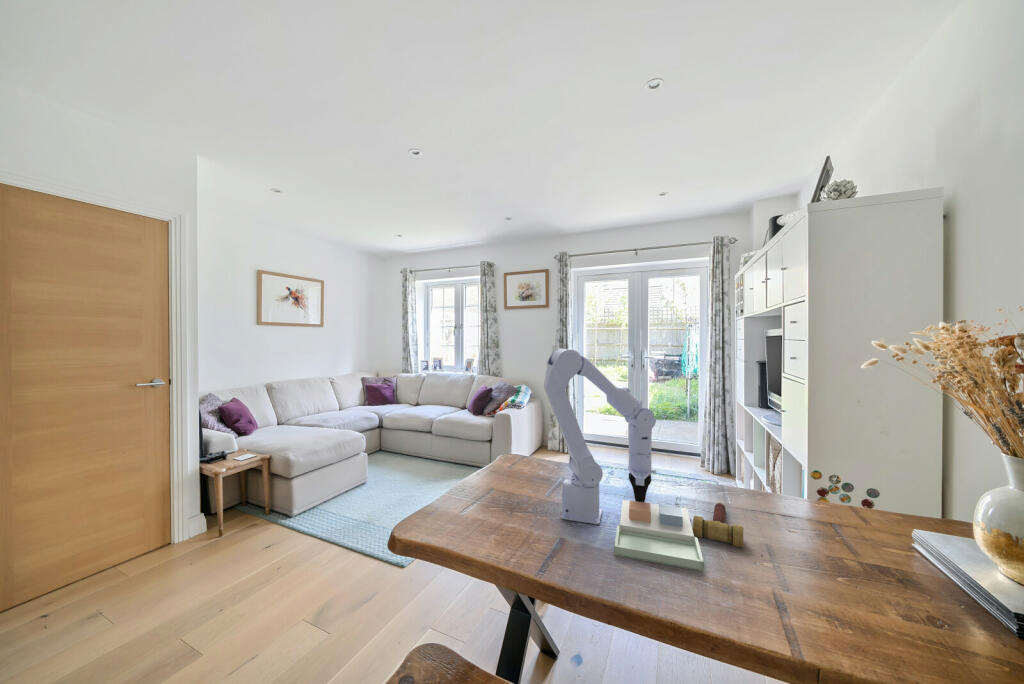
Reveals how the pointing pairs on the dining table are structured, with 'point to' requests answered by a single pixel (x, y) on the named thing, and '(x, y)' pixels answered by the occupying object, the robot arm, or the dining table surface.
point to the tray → (659, 550)
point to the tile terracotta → (640, 511)
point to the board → (656, 525)
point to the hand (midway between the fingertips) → (639, 502)
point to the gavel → (718, 528)
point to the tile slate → (670, 515)
